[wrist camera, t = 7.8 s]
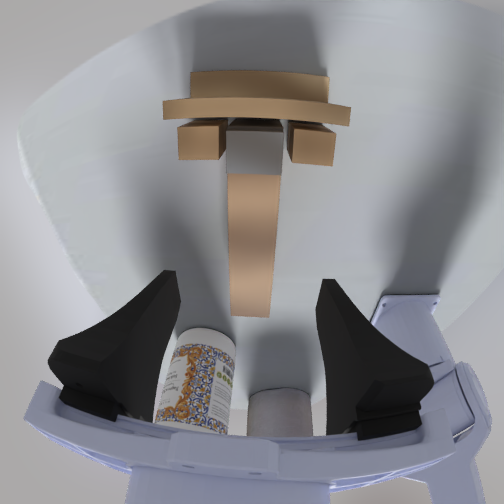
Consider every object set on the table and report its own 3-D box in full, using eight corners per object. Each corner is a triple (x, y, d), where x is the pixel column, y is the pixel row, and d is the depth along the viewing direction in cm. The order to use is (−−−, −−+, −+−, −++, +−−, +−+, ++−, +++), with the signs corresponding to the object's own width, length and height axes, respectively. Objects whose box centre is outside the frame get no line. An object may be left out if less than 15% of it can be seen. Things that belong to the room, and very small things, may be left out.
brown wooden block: (269, 281, 25) (269, 322, 21) (236, 280, 25) (230, 320, 21) (279, 120, 17) (284, 129, 13) (235, 118, 17) (226, 127, 13)
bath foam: (203, 316, 28) (163, 510, 11) (248, 348, 30) (235, 520, 14) (167, 339, 31) (123, 497, 14) (209, 367, 33) (186, 513, 16)
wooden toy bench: (321, 152, 18) (342, 176, 13) (193, 146, 19) (166, 169, 14) (327, 77, 15) (353, 72, 10) (192, 72, 16) (162, 65, 10)
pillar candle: (287, 416, 41) (289, 493, 29) (237, 405, 39) (230, 489, 27) (323, 393, 37) (332, 483, 24) (268, 380, 35) (267, 483, 22)
